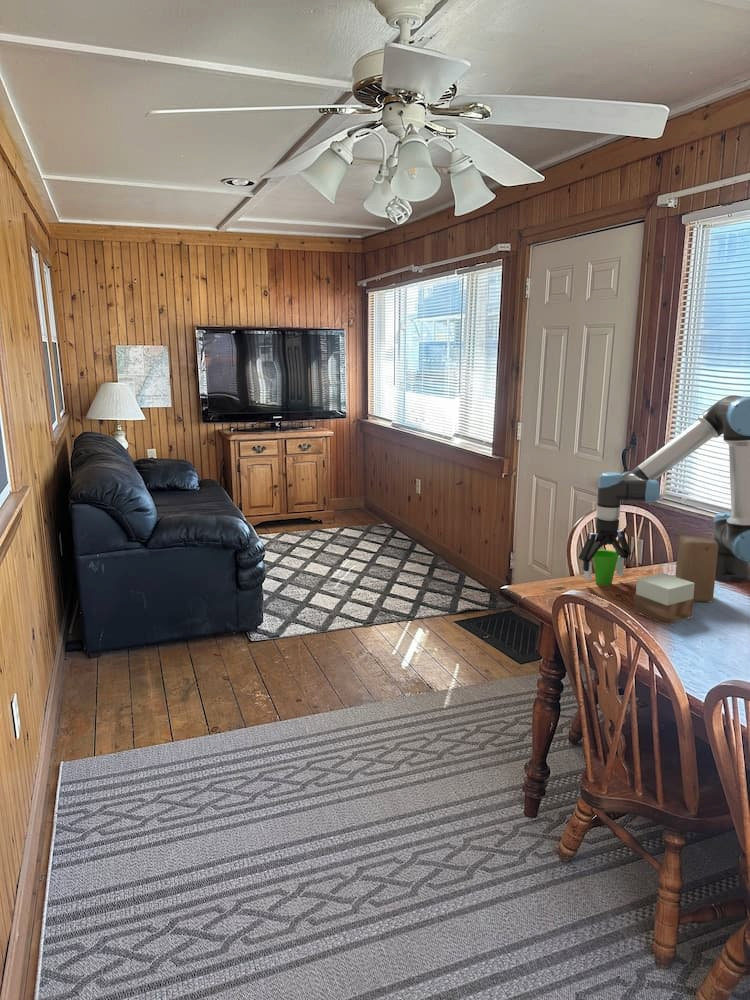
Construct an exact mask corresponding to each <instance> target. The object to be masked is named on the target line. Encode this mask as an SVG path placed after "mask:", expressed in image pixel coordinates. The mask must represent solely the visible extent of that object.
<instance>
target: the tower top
mask: <svg viewBox="0 0 750 1000" xmlns="http://www.w3.org/2000/svg"><path fill="white" fill-rule="evenodd" d="M694 585H695V583H693V582H690V581H687V580H684V579H680V578H677V577H675V576H673V575H670V574H667V573H665V572H660V573H656V574H652V575H646V576H642V577H638V578H636V587H635V588H636V589H635V594H637V595H640V596H642V597H645V598H648V599H651V600H653V601H656V602H659V603H662V604H664V605H667V606H668V605H671V604H675V603H679V602H683V601H687V600H691V599H693V596H694Z"/></svg>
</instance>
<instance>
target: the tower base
mask: <svg viewBox="0 0 750 1000" xmlns="http://www.w3.org/2000/svg"><path fill="white" fill-rule="evenodd" d="M694 602H695V601H694V598H693V599H691V600H687V601H683V602H679V603H675V604H671V605H668V606H667V605H664V604H662V603H659V602H656V601H653V600H651V599H648V598H645V597H642V596H640V595H637V594H636V593H634V598H633V609H632V611H634V612H633V613H635V612H637V613H636V614H638V613H641V614H643V615H645V616H644V617H646V616H648V617H647V618H649V617H650V618H649V619H651V618H652V620H654V621H657V622H659V623H662V624H666V625H669V624H673V623H676V622H679V621H682V620H685V619H688V617H689V618H692V617H693V615H694ZM641 614H640V615H641ZM643 615H642V616H643ZM691 616H692V617H691Z"/></svg>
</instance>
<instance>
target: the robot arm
mask: <svg viewBox="0 0 750 1000" xmlns="http://www.w3.org/2000/svg"><path fill="white" fill-rule="evenodd" d="M720 436H722V437H723V441H724V442H725V443H727V444H728V453H729V457H728V458H729V481H730V483H729V485H730V486H729V487H730V505H731V508H730V509H731V510H730V511H731V512H719V513H716V514H715V516H714V520H713V528H712V529H713V530H712V538H713V539H714V540H715V541H716V542H717V543H718V554H717V564H716V574H715V581H721V582H727V583H728V582H729V583H744V582H745V583H746V582H749V581H750V396H743V395H742V396H741V395H736V394H735V395H728V396H726V397H722V398H721V399H719V400H718V401H717V402H715V403H714V404H713V405H711V406H710V407H708V409H706V410H705V411H703V412H702V413H701V414H700V415H698V416H697V420H696V421H695V422H694V423H692V424H691V425H690V426H689V427H688V428H686V429H684V431H682V432H681V433H680V434H678V435H677V436H676V437H674V438H673V439H672V440H670V441H669V442H668V443H666V444H665V445H664V446H662V447H661V448H660V449H658V450H657V451H656V452H654V453H653V454H652V455H651V456H649V457H647V458H646V459H645V460H644V461H642V462H641V463H640V464H639V465H637V466H636V467H635V468H634V469H632V470H630V471H625V472H623V473H622V474H621V473H619V472H614V471H613V472H611V471H609V472H602V473H601V474H600V475H599V478H598V484H597V505H596V515H595V516H596V518H595V529H596V531H595V532H593V533H592V532H588V533H587V537H586V538H587V539H586V541H585V543H584V545H583V548H582V549H581V551H580V554H579V556H578V560H581V561H582V562H583V563H582V565H583V567H582V569H583V571H584V573H583V574H584V575H583V576H584V577H583V579H584V580H586V581H589V582H590V581H592V568H593V562H592V559H593V557H594V555H595V554H596V552H597V551H598V550H600V549H601V548H602V547H603V546H607V545H612V547H613V548H614V549H615V552H617V553H619V556H618V559H617V563H616V568H615V575H618V576H620V577H623V576H624V568H625V566H626V559H628V558H629V556H631V555H632V552H631V549H630V546H629V543H628V541H627V538H626V531H625V530H623V529H621V528H620V519H619V518H620V517H621V516H620V514H621V502H624V503H625V502H629V503H631V502H632V503H646V504H647V503H655V502H657V501H658V500H659V498H660V494H661V488H660V483H659V481H658V480H657V479H659V478H660V477H662V475H664V474H665V473H666V472H668V471H669V470H671V469H672V468H673V467H675V466H676V465H678V464H679V463H680V462H682V461H683V460H685V459H686V458H687V457H689V456H690V455H692V454H693V452H695V451H697V450H698V449H699V448H700V447H702V446H703V445H705V444H706V443H708V442H709V441H710V440H711V439H713V438H715V439H717V438H719V437H720ZM617 538H618V539H617Z"/></svg>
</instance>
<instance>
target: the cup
mask: <svg viewBox="0 0 750 1000" xmlns="http://www.w3.org/2000/svg"><path fill="white" fill-rule="evenodd" d="M618 556H620V555H619V553H618V552H617V551H616V550H615V551H614V550H609V549H599V550H598V551H597V552H596V554H595V555H594V557H593V558H592V559H593V565H594V566H593V568H594V576H595V583H596V585H599V586H604V587H608V586H611V585H612V583H613V580H614V576H615V573H616V567H617V559H618Z"/></svg>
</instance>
